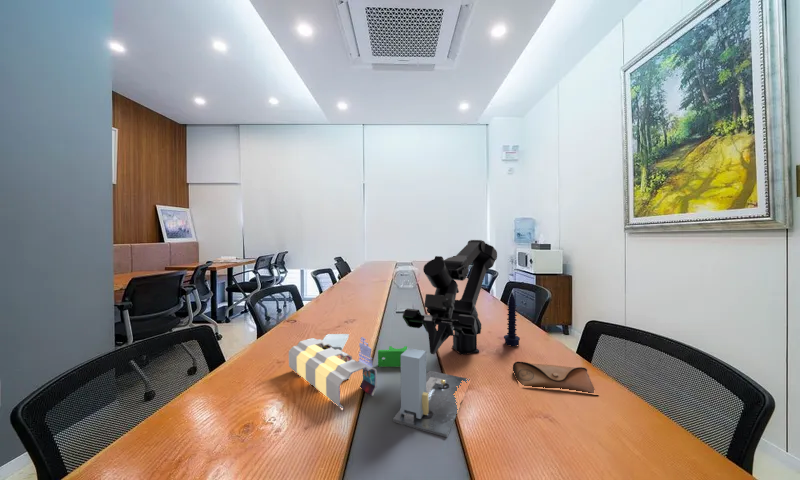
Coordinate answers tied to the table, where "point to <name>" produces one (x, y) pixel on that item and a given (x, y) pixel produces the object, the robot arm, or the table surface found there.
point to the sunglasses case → (553, 376)
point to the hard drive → (336, 340)
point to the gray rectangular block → (414, 383)
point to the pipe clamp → (390, 357)
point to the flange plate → (435, 405)
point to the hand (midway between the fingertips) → (432, 353)
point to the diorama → (331, 367)
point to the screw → (512, 323)
